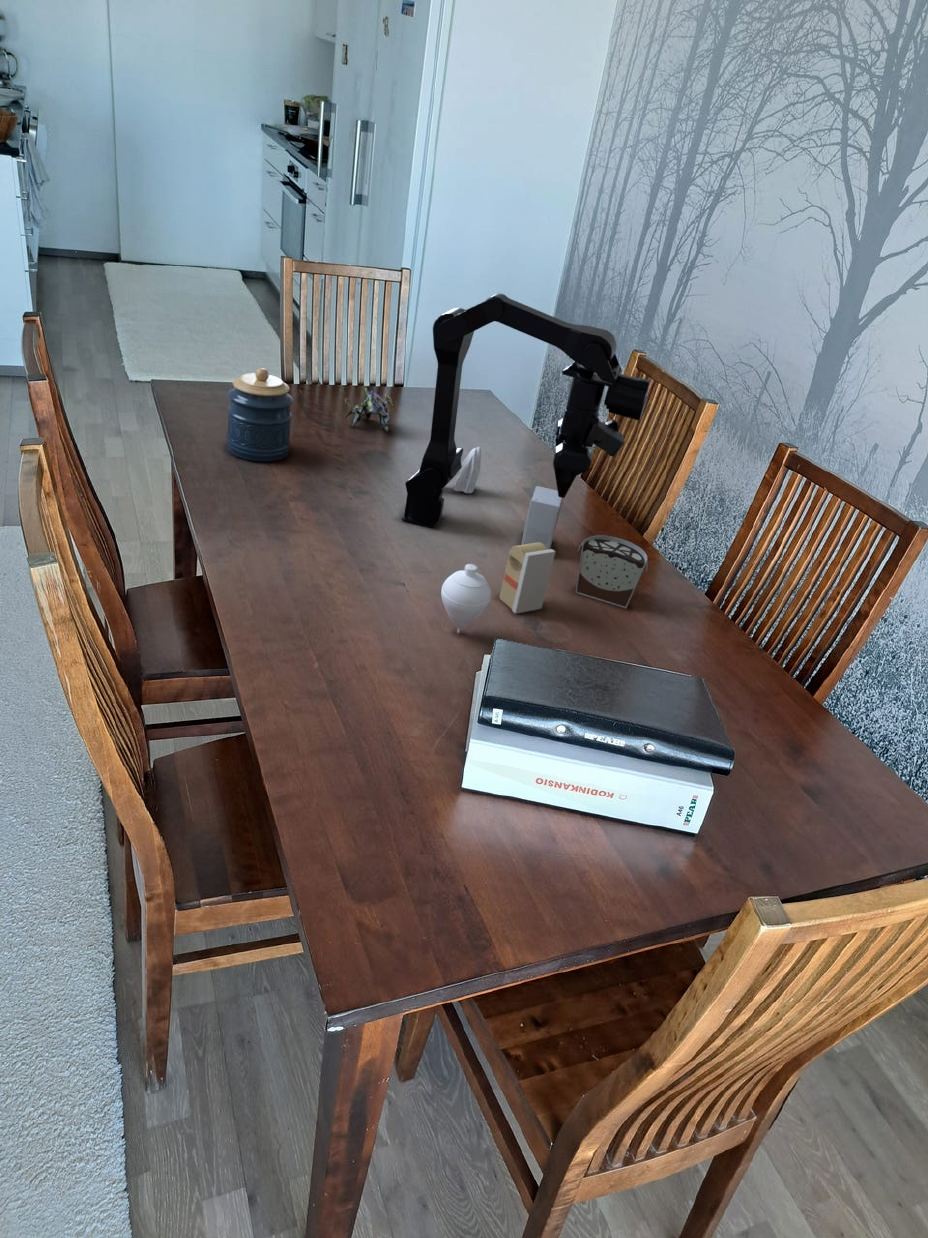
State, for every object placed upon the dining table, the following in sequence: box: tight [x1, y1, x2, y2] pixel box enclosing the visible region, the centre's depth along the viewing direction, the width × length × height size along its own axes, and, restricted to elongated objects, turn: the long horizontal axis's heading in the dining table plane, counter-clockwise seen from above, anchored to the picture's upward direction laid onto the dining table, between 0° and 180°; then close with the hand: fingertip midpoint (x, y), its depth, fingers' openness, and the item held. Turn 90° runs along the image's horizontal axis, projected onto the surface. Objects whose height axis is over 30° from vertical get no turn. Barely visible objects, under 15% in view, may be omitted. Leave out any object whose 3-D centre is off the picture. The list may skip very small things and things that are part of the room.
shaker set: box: [453, 446, 482, 494], centre depth 187 cm, size 12×4×11 cm, turn 104°
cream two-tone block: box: [499, 542, 556, 615], centre depth 151 cm, size 6×6×11 cm
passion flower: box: [343, 387, 396, 432], centre depth 212 cm, size 11×11×12 cm
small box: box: [520, 485, 564, 550], centre depth 171 cm, size 8×6×10 cm
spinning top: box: [440, 563, 492, 634], centre depth 139 cm, size 8×8×12 cm
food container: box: [574, 535, 649, 610], centre depth 159 cm, size 12×6×10 cm, turn 71°
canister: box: [226, 367, 294, 463], centre depth 186 cm, size 13×13×18 cm
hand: (562, 487), depth 164 cm, fingers open, 9 cm apart
